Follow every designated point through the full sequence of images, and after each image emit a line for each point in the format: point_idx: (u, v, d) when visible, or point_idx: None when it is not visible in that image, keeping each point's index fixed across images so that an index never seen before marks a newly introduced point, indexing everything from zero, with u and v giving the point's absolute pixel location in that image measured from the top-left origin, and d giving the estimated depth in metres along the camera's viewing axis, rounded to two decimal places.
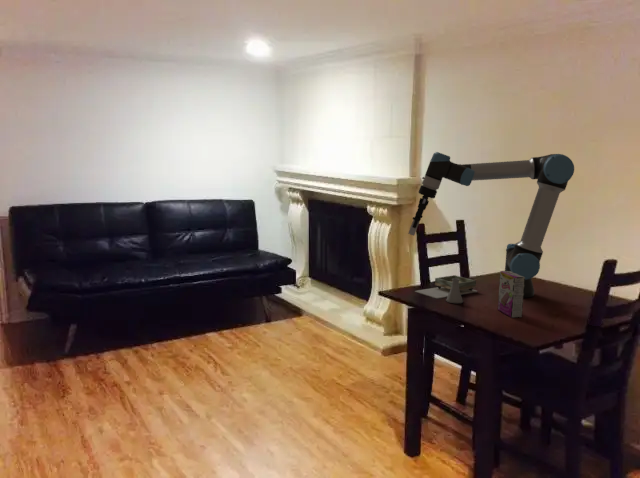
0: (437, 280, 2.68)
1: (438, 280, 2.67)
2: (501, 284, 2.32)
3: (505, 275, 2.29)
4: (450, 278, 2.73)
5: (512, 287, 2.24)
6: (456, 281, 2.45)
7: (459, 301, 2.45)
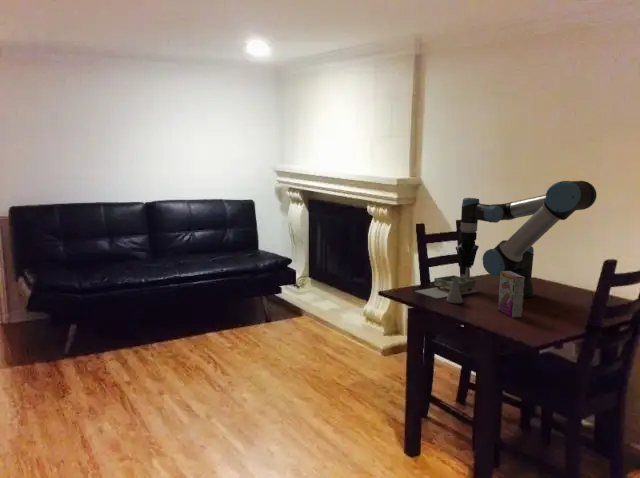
0: (436, 280, 2.67)
1: (437, 280, 2.67)
2: (501, 284, 2.32)
3: (505, 275, 2.29)
4: (449, 278, 2.73)
5: (512, 287, 2.24)
6: (456, 281, 2.45)
7: (459, 301, 2.45)
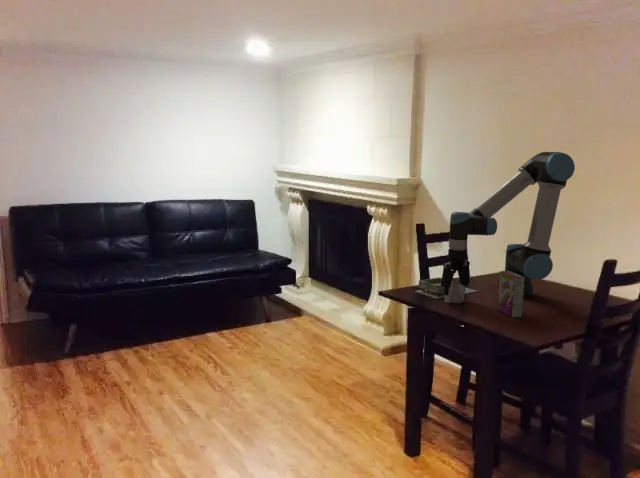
0: (420, 282, 2.62)
1: (422, 282, 2.61)
2: (501, 284, 2.32)
3: (505, 275, 2.29)
4: (434, 280, 2.67)
5: (512, 287, 2.24)
6: (456, 281, 2.45)
7: (459, 301, 2.45)
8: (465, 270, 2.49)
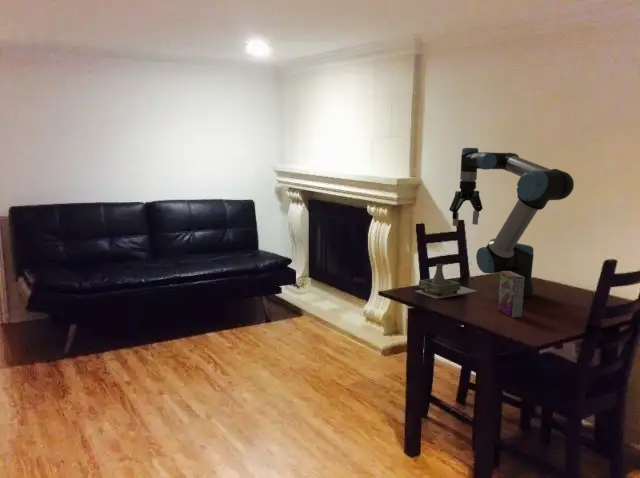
0: (420, 282, 2.62)
1: (422, 282, 2.61)
2: (501, 284, 2.32)
3: (505, 275, 2.29)
4: None
5: (512, 287, 2.24)
6: (440, 266, 2.58)
7: None
8: (476, 199, 2.78)
